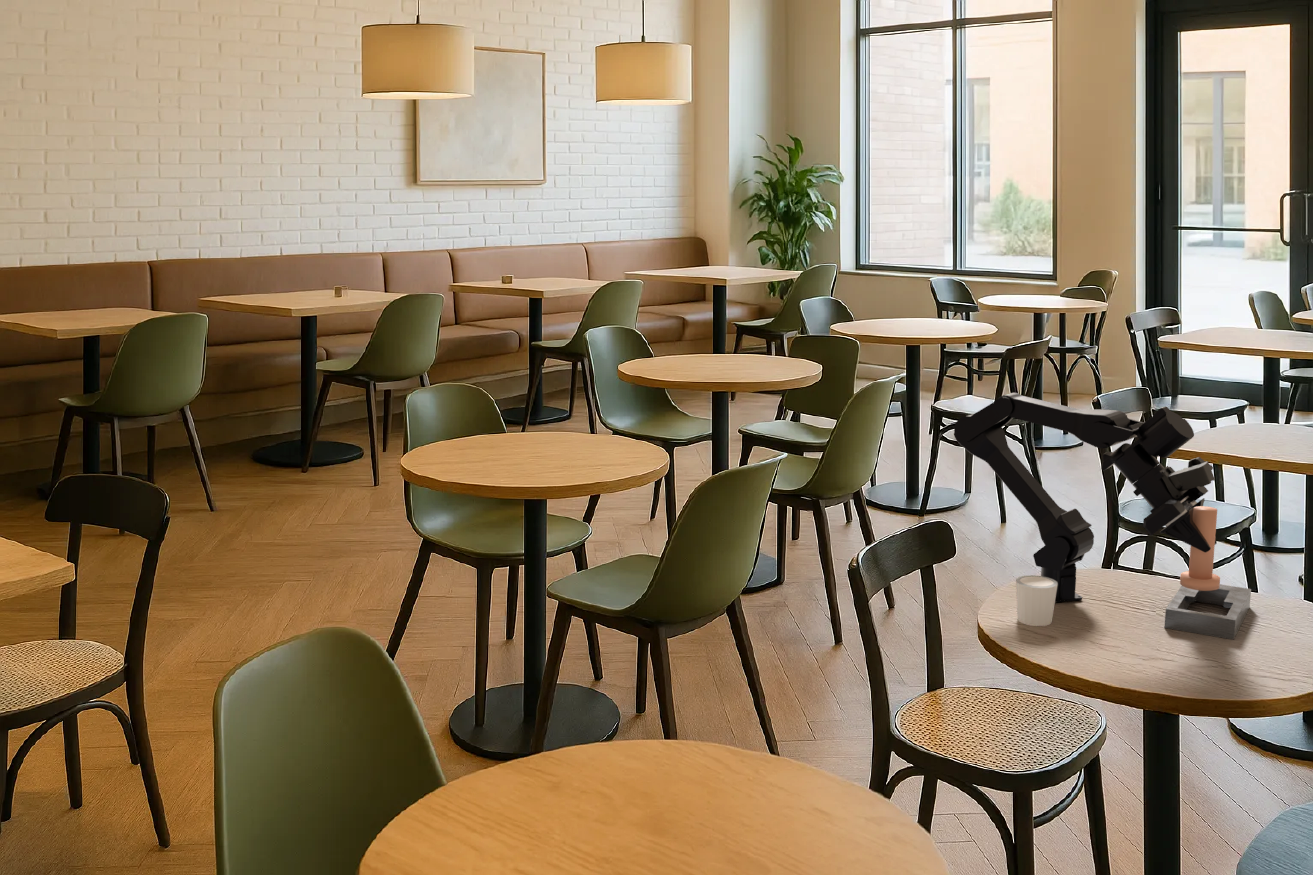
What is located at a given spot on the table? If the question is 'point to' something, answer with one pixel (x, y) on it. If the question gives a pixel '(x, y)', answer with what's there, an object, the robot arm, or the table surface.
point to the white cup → (1035, 599)
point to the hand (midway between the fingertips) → (1211, 547)
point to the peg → (1202, 553)
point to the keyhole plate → (1208, 622)
